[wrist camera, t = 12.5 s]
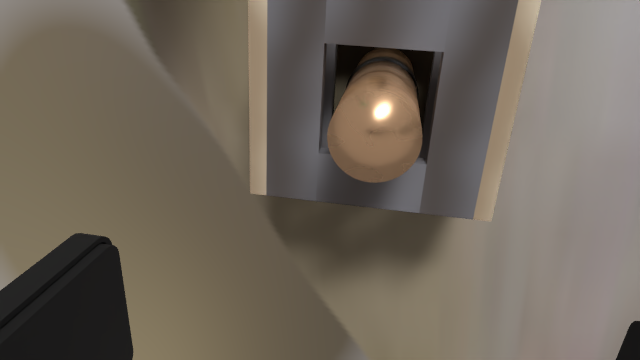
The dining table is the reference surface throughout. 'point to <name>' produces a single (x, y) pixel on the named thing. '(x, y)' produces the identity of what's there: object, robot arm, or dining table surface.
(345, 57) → the dining table surface
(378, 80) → the tan cylinder
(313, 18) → the collar stand
